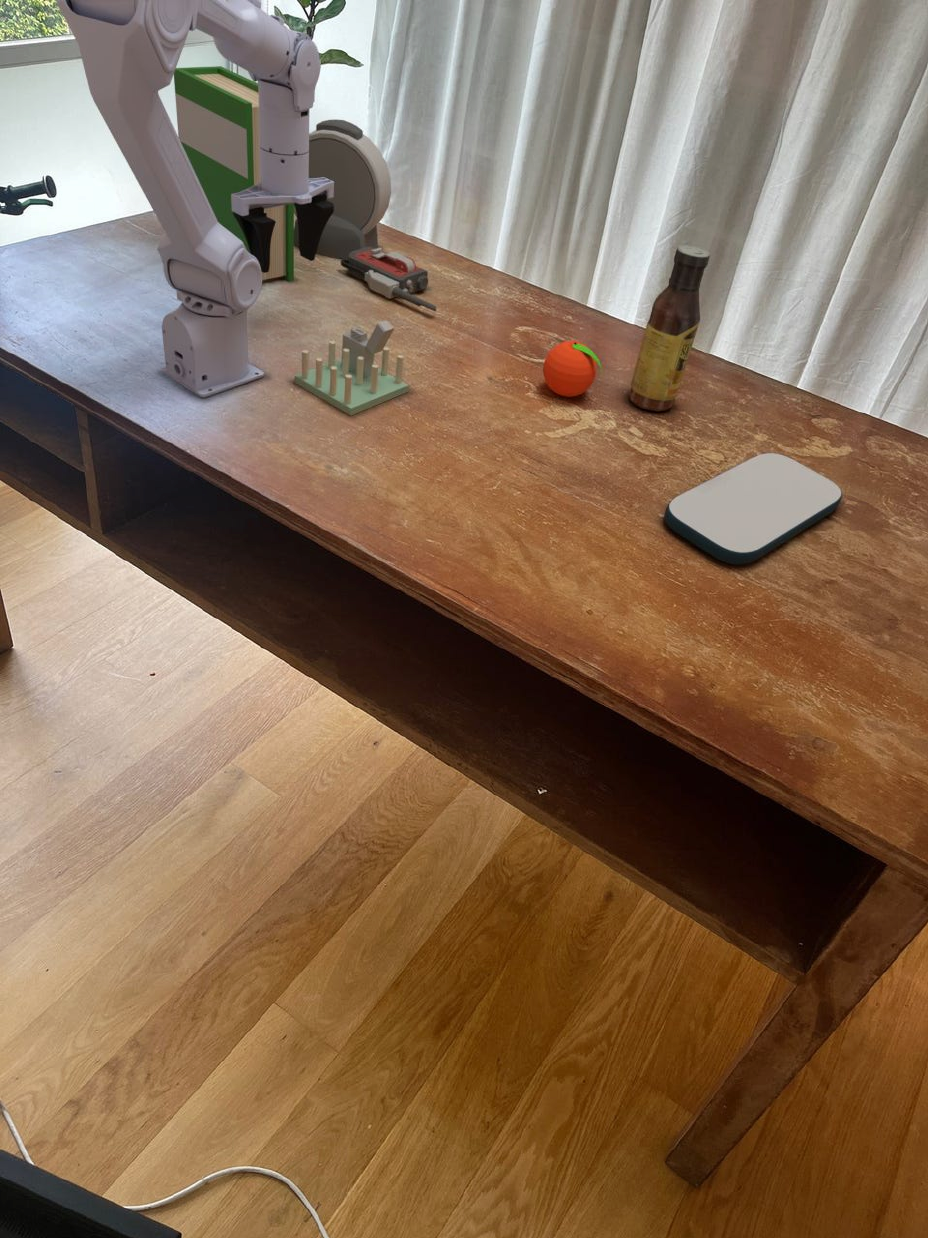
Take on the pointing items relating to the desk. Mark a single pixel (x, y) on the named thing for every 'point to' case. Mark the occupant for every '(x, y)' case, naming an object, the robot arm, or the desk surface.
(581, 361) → the clementine
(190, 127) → the hardback book
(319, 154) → the alarm clock
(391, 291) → the walkie-talkie
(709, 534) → the external hard drive
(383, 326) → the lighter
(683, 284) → the sauce bottle
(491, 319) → the desk surface
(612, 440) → the desk surface
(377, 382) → the dish rack
